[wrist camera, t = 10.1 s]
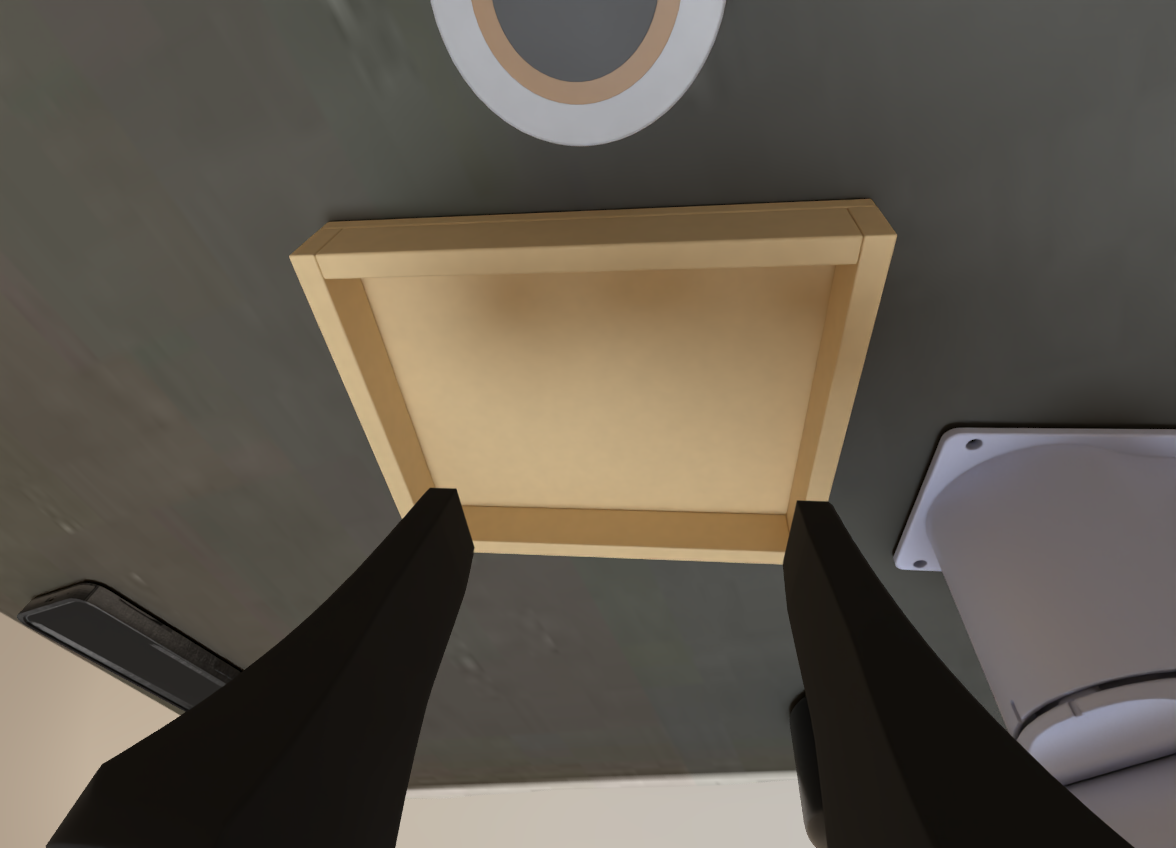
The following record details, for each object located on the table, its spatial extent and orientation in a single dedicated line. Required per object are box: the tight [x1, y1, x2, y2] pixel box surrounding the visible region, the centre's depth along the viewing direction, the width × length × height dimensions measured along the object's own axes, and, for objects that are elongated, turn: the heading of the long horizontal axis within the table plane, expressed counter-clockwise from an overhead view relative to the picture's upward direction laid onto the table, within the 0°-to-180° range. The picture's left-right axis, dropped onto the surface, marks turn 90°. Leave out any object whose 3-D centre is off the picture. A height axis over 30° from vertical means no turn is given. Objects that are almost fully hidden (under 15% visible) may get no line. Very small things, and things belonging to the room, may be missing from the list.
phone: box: [17, 583, 241, 712], centre depth 41 cm, size 8×1×15 cm
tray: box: [289, 199, 897, 564], centre depth 21 cm, size 17×14×3 cm
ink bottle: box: [790, 696, 827, 848], centre depth 31 cm, size 10×9×12 cm
